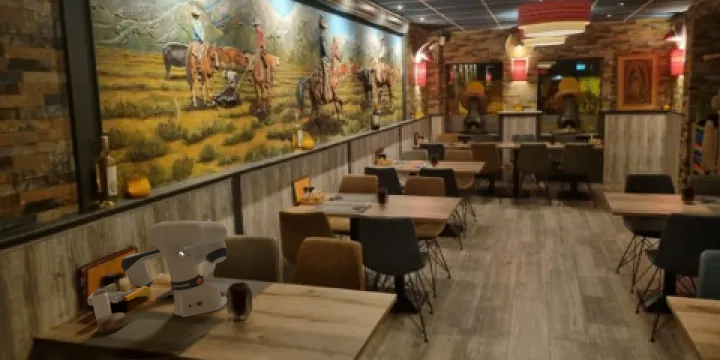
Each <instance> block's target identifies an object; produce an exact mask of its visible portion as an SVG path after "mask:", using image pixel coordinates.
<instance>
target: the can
mask: <svg viewBox="0 0 720 360" xmlns="http://www.w3.org/2000/svg"><path fill="white" fill-rule="evenodd" d="M94 292H95V293H94ZM94 292H92V303H93V306H92V307H93V312H94V314H95V320H96V321H97V320H98V319H100V318H102V317H104V316H106V315H109V314H113V313H112V309H111V305H110V303H111V302H110V303H109V299H108V295H107V293H106V291H98V292H96V291H94Z"/></svg>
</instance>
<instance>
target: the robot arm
mask: <svg viewBox="0 0 720 360" xmlns="http://www.w3.org/2000/svg"><path fill="white" fill-rule="evenodd" d="M227 236H228V230H227V227H226V226H225V225H224V224H223V223H221V222H218V221H215V219H213V218H205V219H204V218H203V219H202V220H186V219H185V220H183V219H182V220H169V221H168V220H167V221H161V222H157V223H154V224H153V225H150V228H149V230H148V235H147V238H148V241H149V242H150V244H151V245H153V247H155V248H153V249H149V250H145V251H141V252H138V253H137V252H136V253H131V254H128V255H126V256H125V257H123V258H122V259H121V261H120V268H121V269H122V271H123V273H125V275H126V276H128V278H129V280H130V283H131V284H132V285H133V286H147V287H149V288H150V287H152V285H153V282H154V279H153V277H152V274H151V273H150V271H149V270H148V267H147V265H146V263H145V261H147V260H152V259H156V258H159V257H161V258H162V257H163V258H164V260H165V262H166V265H167V269H168V272H169V275H170V287H171V291H172V294H173V299H174V300H173V301H174V307H173V308H174V309H173V314H174V315H175V316H179V317H181V318H188V317H191V316H196V315H202V314H206V313H211V312H216V311H220V310H221V309H223V308H224V307H225V306H226V305H227V303H228V301H227V300H228V298H227V297H226V296H222V295H221V292H220V289H218V288H217V287H216V286H213V285H211V284H209V283H207V282H205V280H204V278H205V276H204V275H205V274H202V275H201V274H199V272H198V269H197V266H199V265H201V264H203V263H205V262H206V261H207V262H208V263H209V264H213V265H215V264H219V263H222V262H223V261H225V260H227V258H228V256H229V249H228V247H227V246H226V241H225V240H226V238H227ZM113 283H114V282H113ZM113 283H110V284H108V285H106V286H102V287H99V288H97V289H96V291H94V292H93V293H95V292H98V291H106V293H107V295H108V299H109V303H113V304H117V303H120V302H122V301H121V300H123V296H125V295H126V294H131V293H132V292H133V290H134V288H130V290H129V291H127V292H121V291H116V290H117V288H116V287H115V283H114V284H113ZM93 293H92V294H93ZM92 294H90V295H89V296H88V297H87V303H88V306H92V307H93V303H92ZM119 301H120V302H119Z"/></svg>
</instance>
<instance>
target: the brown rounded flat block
mask: <svg viewBox="0 0 720 360" xmlns="http://www.w3.org/2000/svg"><path fill="white" fill-rule="evenodd" d="M126 322H127V318H126V314H125V312H113V313H112V314H109V315H106V316H104V317H102V318H100V319H98V320H97V319H96V326H97V329H98V333H101V332H106V333H109V332H108V331H112V330H115V331H117V330H116V329H118V328H120V327H122V326H124V325H125V324H126ZM126 325H127V324H126ZM126 325H125V326H126ZM125 326H124V327H125ZM122 328H123V327H122ZM120 329H121V328H120ZM118 330H119V329H118ZM112 332H113V331H112Z"/></svg>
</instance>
